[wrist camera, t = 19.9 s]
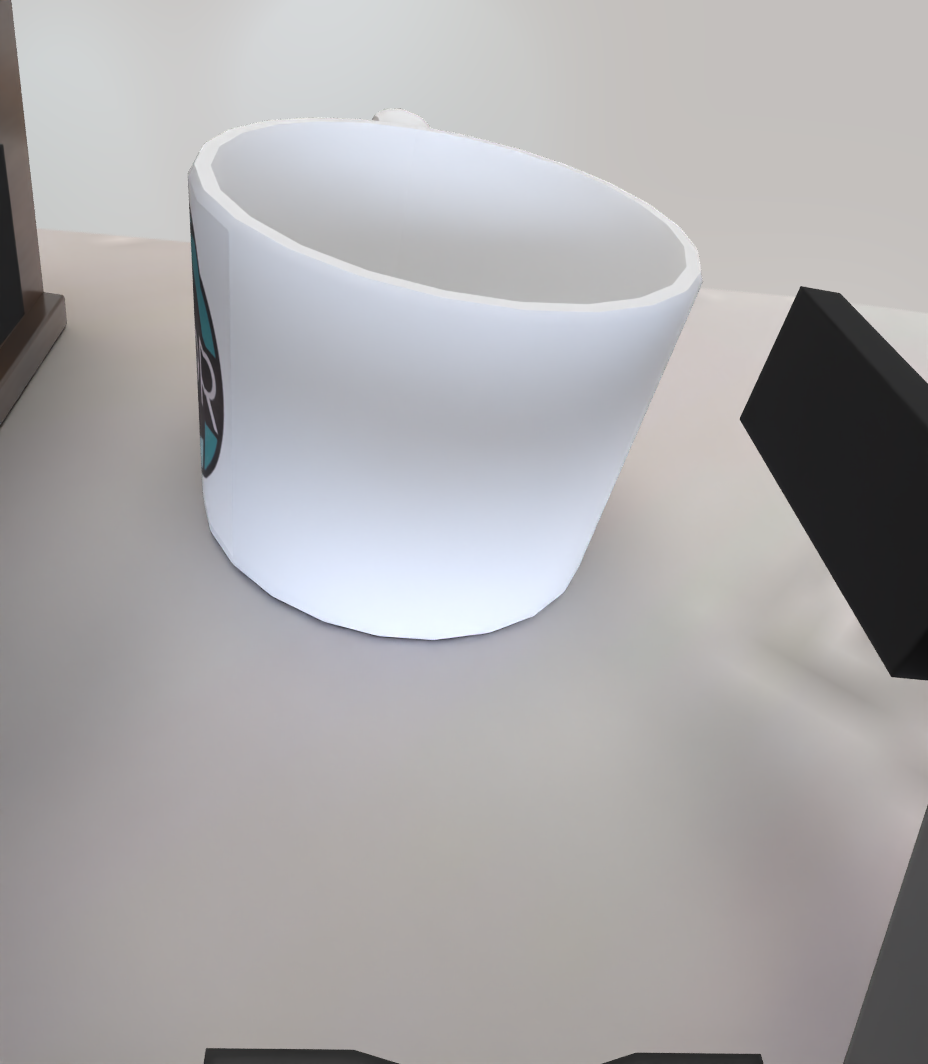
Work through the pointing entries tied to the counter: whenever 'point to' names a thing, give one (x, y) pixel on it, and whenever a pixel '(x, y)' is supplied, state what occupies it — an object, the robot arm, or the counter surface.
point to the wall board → (22, 236)
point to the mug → (419, 364)
